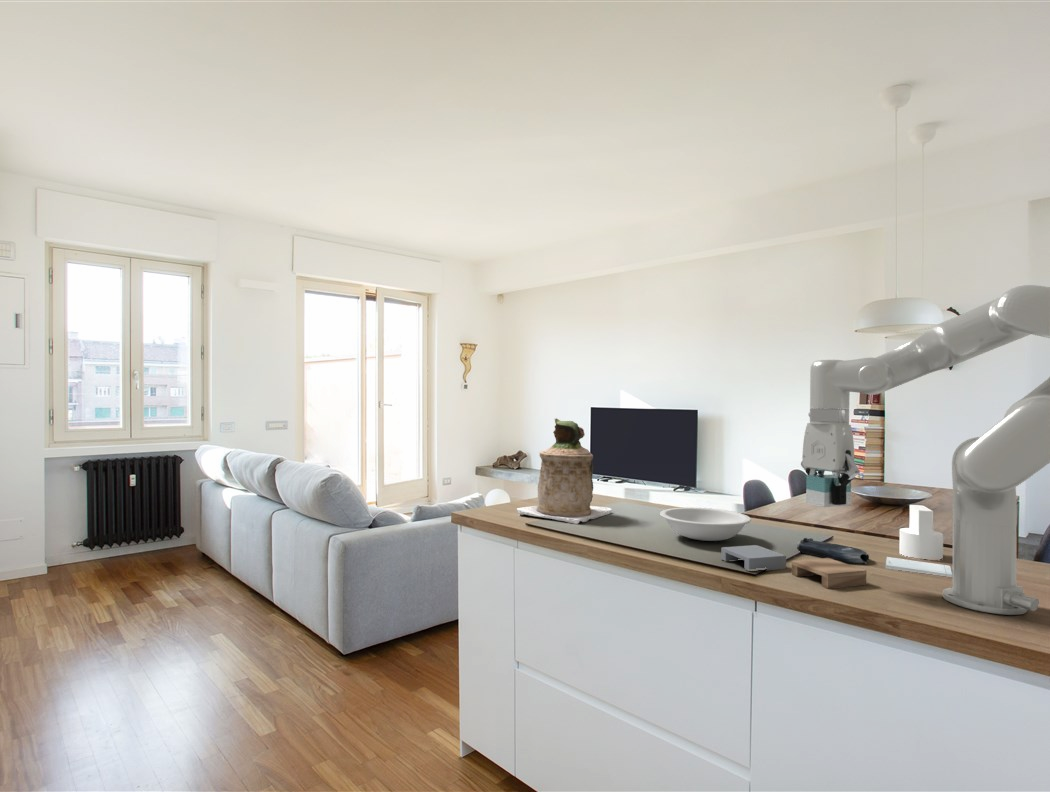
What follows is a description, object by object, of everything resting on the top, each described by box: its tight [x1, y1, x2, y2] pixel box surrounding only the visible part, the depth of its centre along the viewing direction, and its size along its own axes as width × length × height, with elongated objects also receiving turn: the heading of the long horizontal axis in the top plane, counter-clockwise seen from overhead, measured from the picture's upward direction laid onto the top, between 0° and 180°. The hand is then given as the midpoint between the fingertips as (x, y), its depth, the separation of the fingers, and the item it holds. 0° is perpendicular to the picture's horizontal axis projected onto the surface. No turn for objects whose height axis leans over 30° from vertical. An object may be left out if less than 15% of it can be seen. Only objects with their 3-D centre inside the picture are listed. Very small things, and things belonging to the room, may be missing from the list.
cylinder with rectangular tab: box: [898, 504, 944, 559], centre depth 145 cm, size 9×9×12 cm
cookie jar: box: [516, 417, 613, 525], centre depth 193 cm, size 25×25×32 cm
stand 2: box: [791, 557, 867, 589], centre depth 124 cm, size 10×10×3 cm
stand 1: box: [720, 544, 787, 571], centre depth 135 cm, size 10×10×3 cm
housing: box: [805, 472, 852, 508], centre depth 124 cm, size 7×5×7 cm
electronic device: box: [796, 537, 870, 565], centre depth 143 cm, size 9×6×15 cm
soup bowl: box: [659, 506, 752, 542], centre depth 160 cm, size 24×24×7 cm
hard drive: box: [885, 556, 953, 578], centre depth 133 cm, size 2×8×12 cm
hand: (828, 501), depth 124 cm, fingers closed on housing, 5 cm apart
